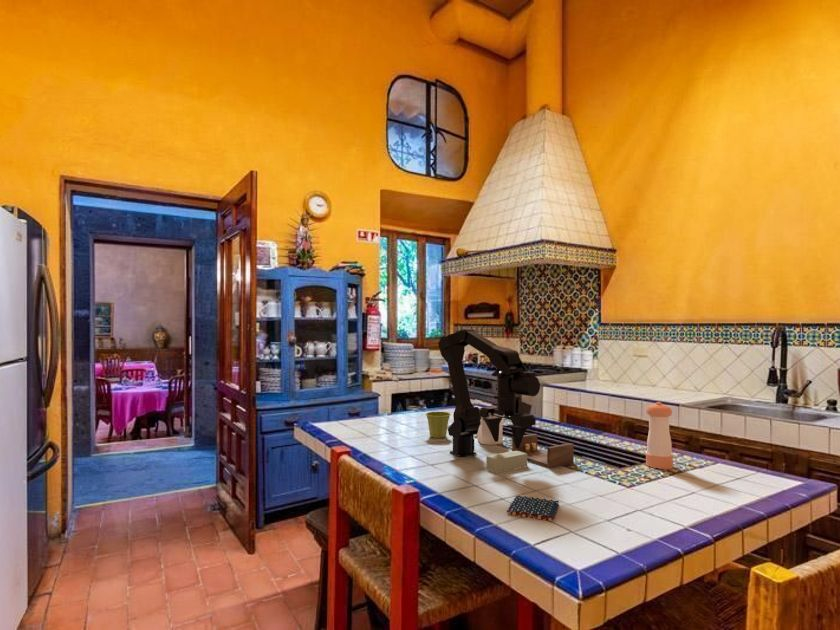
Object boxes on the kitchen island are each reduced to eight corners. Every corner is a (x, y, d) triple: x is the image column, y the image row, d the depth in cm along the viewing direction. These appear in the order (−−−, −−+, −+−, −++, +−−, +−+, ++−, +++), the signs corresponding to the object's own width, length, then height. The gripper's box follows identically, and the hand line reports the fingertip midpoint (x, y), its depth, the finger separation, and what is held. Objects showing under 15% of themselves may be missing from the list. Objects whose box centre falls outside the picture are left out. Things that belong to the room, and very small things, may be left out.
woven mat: (514, 501, 122) (514, 493, 122) (559, 508, 118) (559, 499, 118) (505, 517, 112) (505, 508, 112) (553, 524, 108) (553, 515, 108)
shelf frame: (573, 463, 153) (573, 443, 153) (550, 468, 148) (550, 448, 148) (534, 451, 167) (534, 433, 167) (512, 455, 162) (512, 437, 162)
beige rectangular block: (496, 473, 144) (496, 459, 144) (486, 469, 148) (486, 455, 148) (527, 467, 151) (527, 453, 151) (516, 463, 154) (516, 450, 154)
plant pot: (451, 439, 185) (451, 416, 185) (425, 439, 185) (425, 415, 185) (450, 434, 194) (450, 411, 194) (425, 433, 194) (425, 411, 194)
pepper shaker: (676, 465, 151) (675, 401, 151) (668, 470, 146) (667, 404, 146) (650, 461, 156) (650, 399, 156) (642, 466, 151) (642, 402, 151)
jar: (505, 444, 177) (505, 410, 177) (483, 445, 175) (483, 411, 176) (496, 438, 186) (496, 406, 186) (475, 439, 184) (475, 407, 184)
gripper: (549, 394, 146) (549, 448, 146) (506, 387, 162) (506, 435, 162) (520, 397, 140) (520, 453, 140) (478, 389, 156) (478, 439, 156)
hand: (506, 444), depth 150 cm, fingers open, 9 cm apart
